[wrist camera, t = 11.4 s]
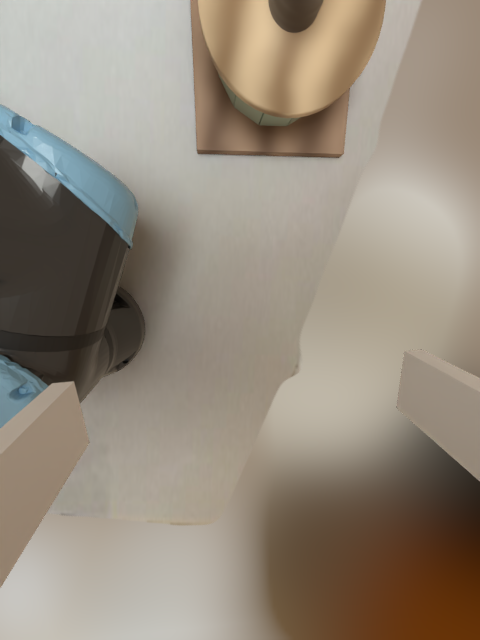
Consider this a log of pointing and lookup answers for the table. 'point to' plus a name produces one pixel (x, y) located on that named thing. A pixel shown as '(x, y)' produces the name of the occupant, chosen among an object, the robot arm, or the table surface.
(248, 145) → the serving board
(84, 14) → the table surface
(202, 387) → the table surface
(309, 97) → the lid
